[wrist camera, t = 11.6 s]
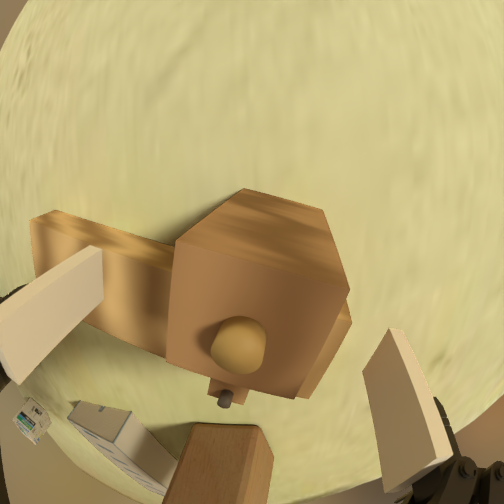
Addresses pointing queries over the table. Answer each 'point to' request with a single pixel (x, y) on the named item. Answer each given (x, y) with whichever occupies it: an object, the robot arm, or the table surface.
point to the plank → (138, 284)
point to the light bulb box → (32, 421)
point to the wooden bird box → (254, 296)
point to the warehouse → (126, 444)
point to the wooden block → (222, 467)
